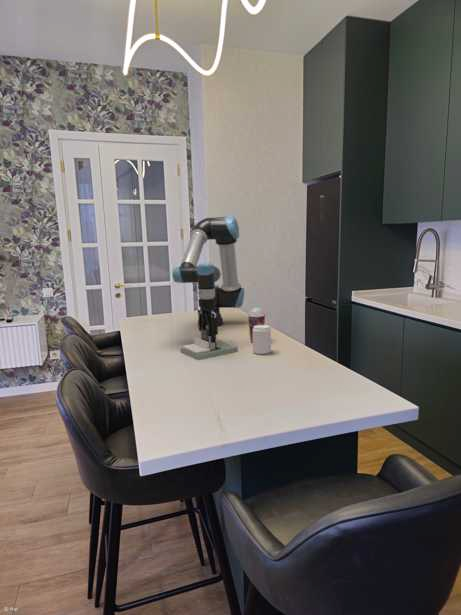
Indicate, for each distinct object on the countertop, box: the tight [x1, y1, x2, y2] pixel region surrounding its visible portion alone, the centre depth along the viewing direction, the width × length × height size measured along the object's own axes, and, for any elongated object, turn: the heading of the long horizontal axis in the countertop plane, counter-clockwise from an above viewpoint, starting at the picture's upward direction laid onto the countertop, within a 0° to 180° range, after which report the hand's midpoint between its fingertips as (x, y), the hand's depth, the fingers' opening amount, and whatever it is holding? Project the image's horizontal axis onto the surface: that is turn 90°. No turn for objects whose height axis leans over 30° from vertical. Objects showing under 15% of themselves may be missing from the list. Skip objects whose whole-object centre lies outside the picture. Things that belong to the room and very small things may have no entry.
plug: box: [200, 325, 217, 349], centre depth 183 cm, size 5×5×11 cm
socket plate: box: [180, 339, 239, 361], centre depth 184 cm, size 21×16×2 cm
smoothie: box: [247, 301, 266, 344], centre depth 198 cm, size 8×8×20 cm
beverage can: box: [252, 324, 272, 355], centre depth 180 cm, size 8×8×12 cm
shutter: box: [181, 337, 211, 354], centre depth 180 cm, size 7×13×4 cm, turn 35°
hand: (208, 347), depth 184 cm, fingers closed on plug, 5 cm apart
